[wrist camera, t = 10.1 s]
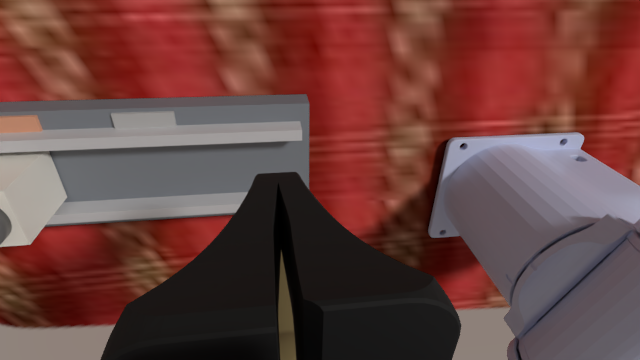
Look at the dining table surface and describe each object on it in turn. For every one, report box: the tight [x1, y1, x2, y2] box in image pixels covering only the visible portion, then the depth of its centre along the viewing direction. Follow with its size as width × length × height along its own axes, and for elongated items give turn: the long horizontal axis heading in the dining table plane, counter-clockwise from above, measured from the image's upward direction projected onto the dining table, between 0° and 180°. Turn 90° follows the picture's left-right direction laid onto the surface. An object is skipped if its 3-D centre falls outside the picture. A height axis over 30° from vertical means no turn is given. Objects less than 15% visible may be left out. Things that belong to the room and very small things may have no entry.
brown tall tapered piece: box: [278, 251, 296, 360], centre depth 23 cm, size 6×6×11 cm
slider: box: [0, 151, 67, 247], centre depth 18 cm, size 3×3×5 cm
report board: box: [0, 94, 309, 227], centre depth 21 cm, size 18×7×4 cm, turn 89°
